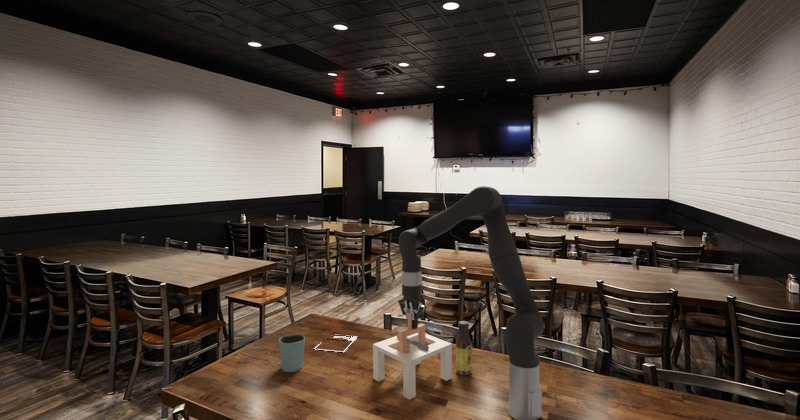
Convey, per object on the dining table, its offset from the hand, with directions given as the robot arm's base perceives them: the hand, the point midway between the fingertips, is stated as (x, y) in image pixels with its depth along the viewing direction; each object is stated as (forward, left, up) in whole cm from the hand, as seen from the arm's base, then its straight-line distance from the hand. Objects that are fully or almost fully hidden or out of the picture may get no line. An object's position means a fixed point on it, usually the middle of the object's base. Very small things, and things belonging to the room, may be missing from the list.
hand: (412, 327), depth 151 cm
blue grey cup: (+40, +29, -20) cm, 53 cm away
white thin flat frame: (+48, +3, -20) cm, 52 cm away
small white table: (0, 0, -20) cm, 20 cm away
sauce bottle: (-10, -18, -20) cm, 29 cm away
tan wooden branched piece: (0, 0, -11) cm, 11 cm away
